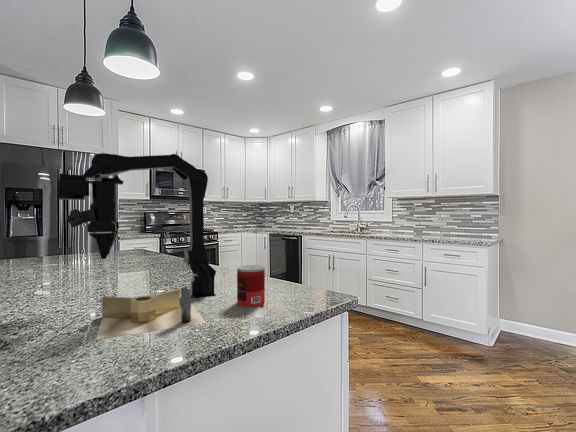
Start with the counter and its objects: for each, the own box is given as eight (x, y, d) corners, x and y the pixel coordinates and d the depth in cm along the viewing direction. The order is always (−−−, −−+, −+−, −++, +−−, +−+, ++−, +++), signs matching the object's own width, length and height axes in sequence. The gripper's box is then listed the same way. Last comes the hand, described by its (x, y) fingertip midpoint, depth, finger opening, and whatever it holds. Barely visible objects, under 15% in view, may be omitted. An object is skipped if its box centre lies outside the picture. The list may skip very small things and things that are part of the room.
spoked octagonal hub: (179, 307, 86) (179, 288, 86) (184, 317, 78) (184, 297, 78) (102, 316, 78) (102, 296, 78) (99, 329, 70) (98, 306, 70)
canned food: (268, 303, 93) (268, 265, 93) (257, 311, 85) (257, 270, 85) (245, 300, 95) (245, 264, 95) (232, 308, 88) (232, 268, 88)
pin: (190, 319, 76) (190, 286, 76) (191, 322, 74) (191, 288, 74) (180, 320, 75) (180, 287, 75) (181, 323, 73) (181, 289, 73)
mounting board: (193, 307, 88) (193, 304, 88) (205, 326, 74) (205, 322, 74) (102, 319, 78) (102, 316, 78) (96, 343, 64) (95, 339, 64)
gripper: (75, 201, 92) (76, 254, 93) (62, 198, 76) (63, 263, 76) (118, 201, 97) (119, 252, 97) (115, 199, 80) (115, 260, 81)
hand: (105, 256), depth 88 cm, fingers open, 9 cm apart
